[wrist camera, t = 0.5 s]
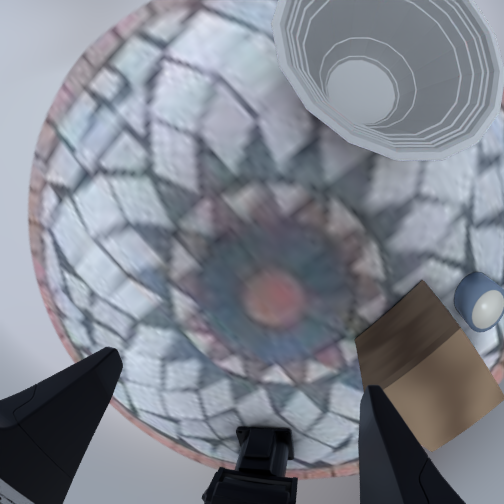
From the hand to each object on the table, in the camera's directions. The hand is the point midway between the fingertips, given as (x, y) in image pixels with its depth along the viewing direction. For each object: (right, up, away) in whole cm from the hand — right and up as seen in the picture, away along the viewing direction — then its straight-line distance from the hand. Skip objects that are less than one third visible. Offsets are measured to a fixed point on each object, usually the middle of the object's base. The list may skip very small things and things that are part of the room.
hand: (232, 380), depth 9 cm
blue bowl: (+21, 0, +13) cm, 25 cm away
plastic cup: (+9, +16, +10) cm, 21 cm away
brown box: (+17, -4, +15) cm, 23 cm away
